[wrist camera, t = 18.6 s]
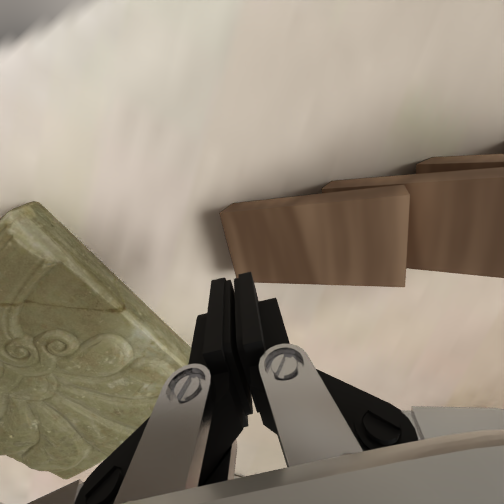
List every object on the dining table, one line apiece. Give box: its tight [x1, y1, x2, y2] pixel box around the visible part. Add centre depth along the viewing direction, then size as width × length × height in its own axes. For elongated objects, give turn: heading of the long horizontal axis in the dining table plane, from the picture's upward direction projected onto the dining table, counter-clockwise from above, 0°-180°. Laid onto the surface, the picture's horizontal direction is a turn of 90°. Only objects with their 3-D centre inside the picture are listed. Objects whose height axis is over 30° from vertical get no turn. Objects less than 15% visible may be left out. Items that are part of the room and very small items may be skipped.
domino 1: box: [219, 184, 410, 287], centre depth 15 cm, size 2×5×10 cm
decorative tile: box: [0, 201, 191, 479], centre depth 20 cm, size 19×20×4 cm
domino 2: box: [322, 167, 504, 278], centre depth 14 cm, size 2×5×10 cm
